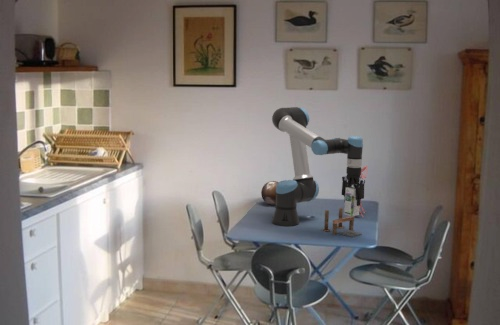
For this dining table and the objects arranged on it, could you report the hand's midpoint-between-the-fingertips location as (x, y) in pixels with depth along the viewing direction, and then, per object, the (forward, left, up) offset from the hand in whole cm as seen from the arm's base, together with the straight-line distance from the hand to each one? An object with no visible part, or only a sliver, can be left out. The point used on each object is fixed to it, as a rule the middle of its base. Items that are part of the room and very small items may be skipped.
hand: (351, 210), depth 311 cm
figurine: (-28, +34, -13) cm, 46 cm away
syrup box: (0, 0, -3) cm, 3 cm away
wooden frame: (-9, 0, -13) cm, 16 cm away
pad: (0, 0, -13) cm, 13 cm away
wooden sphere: (-75, +12, -13) cm, 77 cm away
